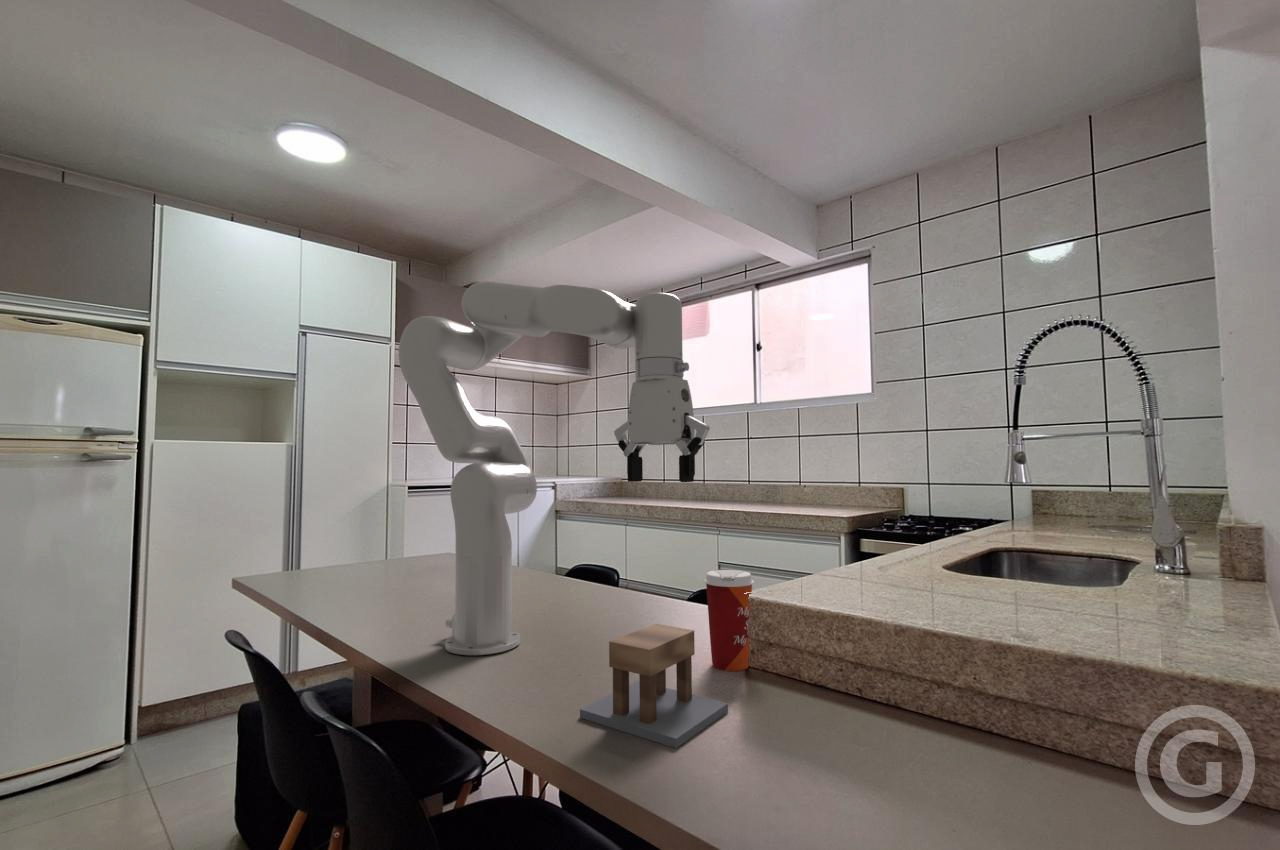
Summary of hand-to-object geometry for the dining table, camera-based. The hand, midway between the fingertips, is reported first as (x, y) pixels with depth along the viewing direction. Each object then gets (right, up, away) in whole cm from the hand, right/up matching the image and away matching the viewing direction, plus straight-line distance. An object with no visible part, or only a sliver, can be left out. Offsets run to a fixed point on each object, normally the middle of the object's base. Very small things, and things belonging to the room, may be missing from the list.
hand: (660, 481), depth 94 cm
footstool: (-1, -26, -19) cm, 32 cm away
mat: (-1, -27, -19) cm, 33 cm away
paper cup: (+11, -28, -1) cm, 30 cm away
